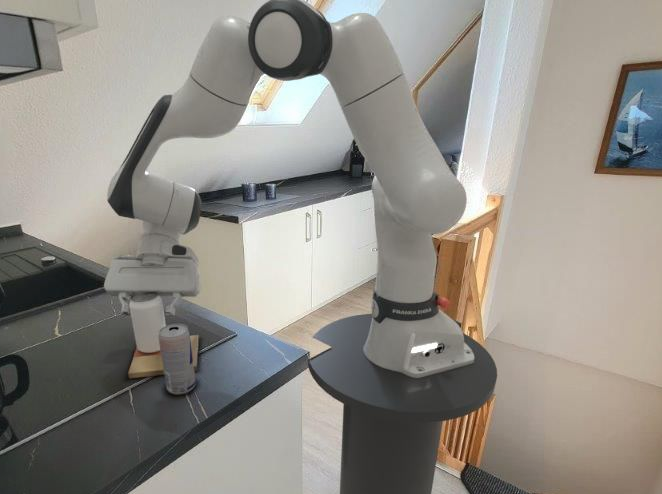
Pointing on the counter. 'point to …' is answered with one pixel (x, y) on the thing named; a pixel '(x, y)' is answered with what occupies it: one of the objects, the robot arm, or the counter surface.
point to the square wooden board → (156, 361)
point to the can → (147, 320)
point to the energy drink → (177, 358)
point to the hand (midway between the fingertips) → (147, 314)
